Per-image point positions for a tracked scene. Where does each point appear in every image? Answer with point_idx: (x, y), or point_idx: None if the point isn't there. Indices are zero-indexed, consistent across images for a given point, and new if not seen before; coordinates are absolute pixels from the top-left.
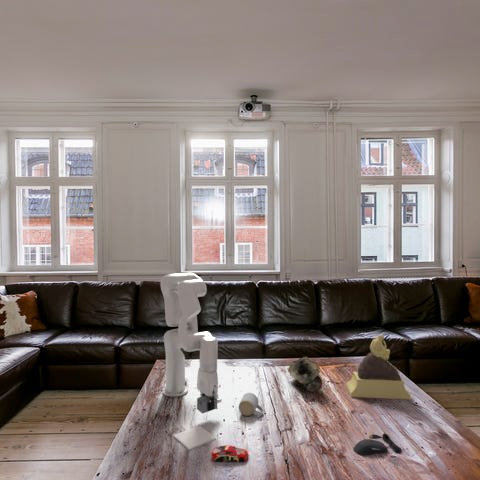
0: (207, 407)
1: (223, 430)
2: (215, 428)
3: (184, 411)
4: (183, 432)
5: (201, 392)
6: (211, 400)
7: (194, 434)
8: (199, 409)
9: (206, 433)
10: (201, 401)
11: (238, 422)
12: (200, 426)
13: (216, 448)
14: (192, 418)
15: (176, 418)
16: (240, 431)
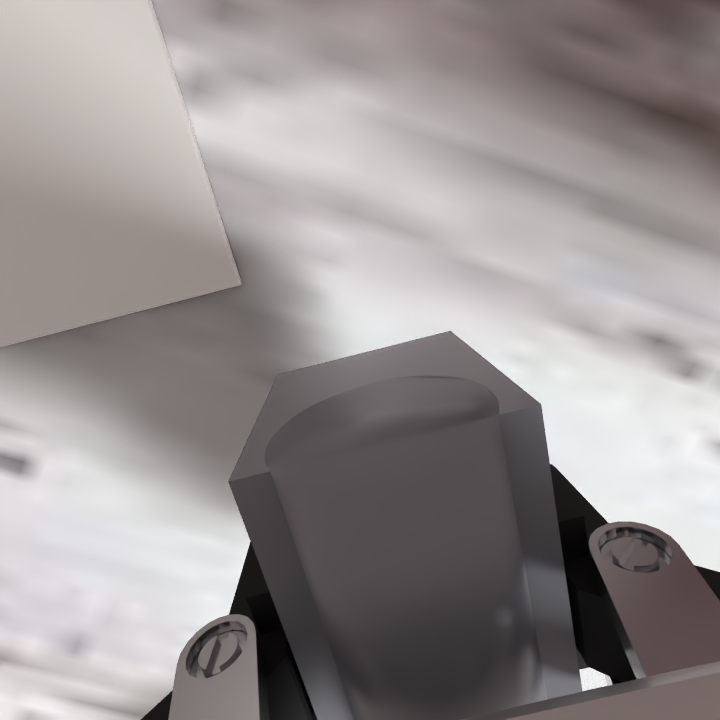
0: None
1: (71, 505)
2: (143, 442)
3: (689, 226)
4: (120, 4)
5: (680, 629)
6: (164, 715)
7: (18, 145)
8: (374, 358)
9: (3, 305)
10: (294, 459)
11: None
12: (205, 288)
13: None
14: (478, 267)
15: (579, 63)
16: (2, 642)
